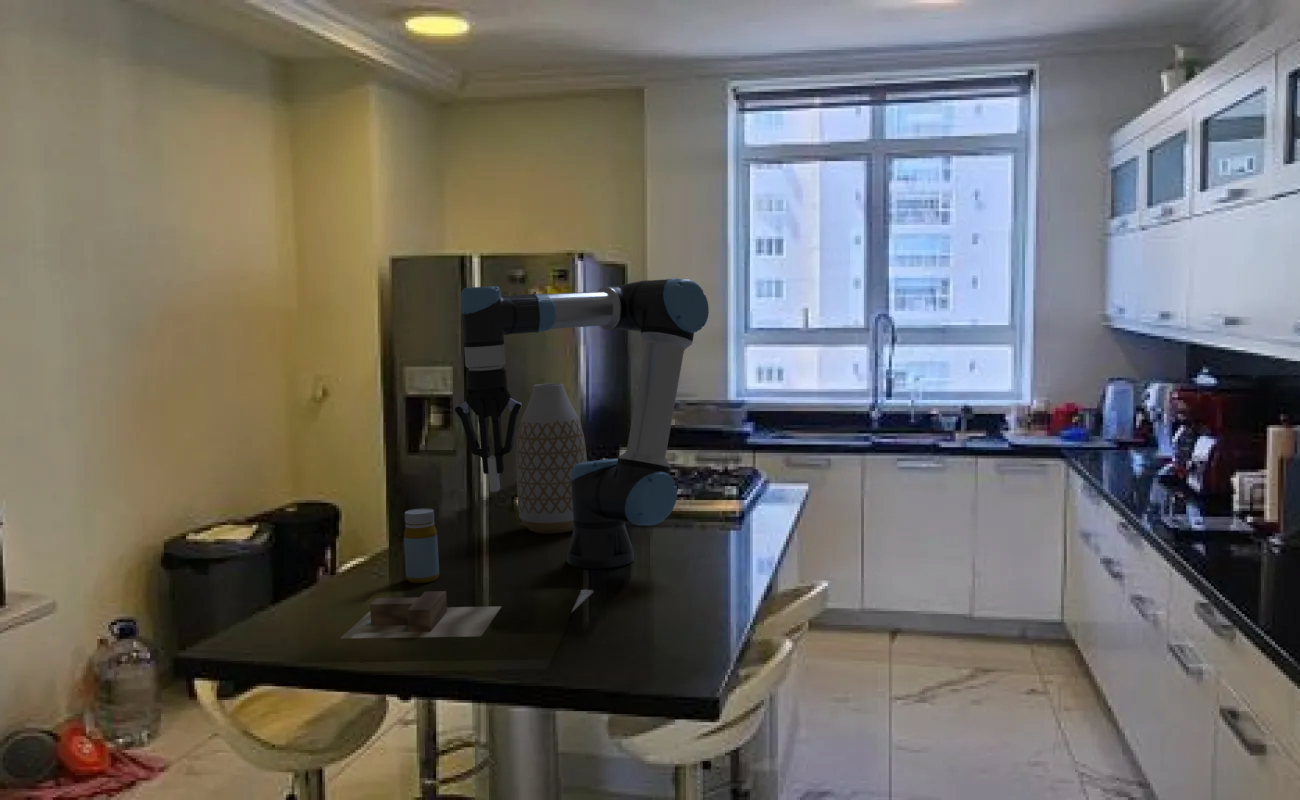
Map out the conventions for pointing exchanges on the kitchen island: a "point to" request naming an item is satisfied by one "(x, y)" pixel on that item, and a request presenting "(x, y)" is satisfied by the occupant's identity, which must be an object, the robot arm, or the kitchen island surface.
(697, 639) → the kitchen island surface
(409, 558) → the bottle
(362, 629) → the board
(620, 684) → the kitchen island surface
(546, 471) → the vase
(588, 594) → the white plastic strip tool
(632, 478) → the robot arm
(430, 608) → the t block
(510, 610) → the kitchen island surface
